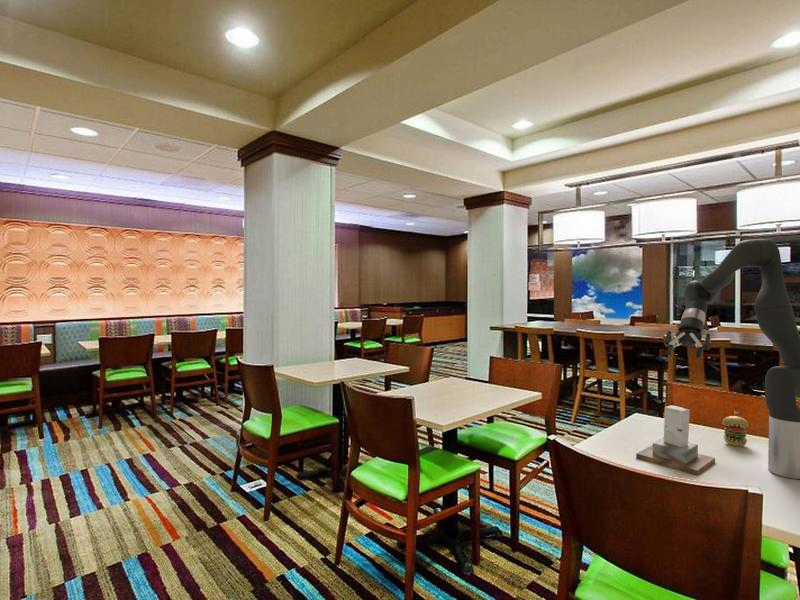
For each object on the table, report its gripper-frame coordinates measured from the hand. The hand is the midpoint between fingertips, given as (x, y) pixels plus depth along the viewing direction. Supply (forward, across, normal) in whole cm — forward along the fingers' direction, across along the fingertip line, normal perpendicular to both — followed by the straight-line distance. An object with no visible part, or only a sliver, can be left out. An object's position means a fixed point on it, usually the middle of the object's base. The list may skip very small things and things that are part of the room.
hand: (683, 356), depth 161 cm
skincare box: (+32, +3, +7) cm, 33 cm away
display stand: (+36, +2, +10) cm, 37 cm away
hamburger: (+13, +13, +33) cm, 38 cm away
